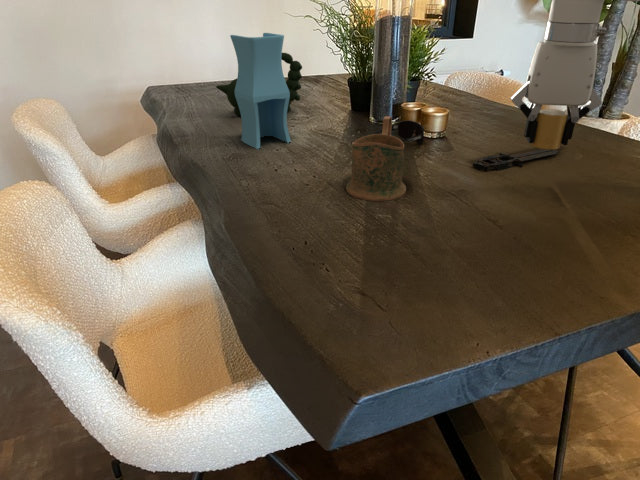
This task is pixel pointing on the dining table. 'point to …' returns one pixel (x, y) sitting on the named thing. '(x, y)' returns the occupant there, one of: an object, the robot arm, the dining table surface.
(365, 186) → the bronze bell
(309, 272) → the dining table surface
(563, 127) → the candle holder
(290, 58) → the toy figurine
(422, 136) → the sunglasses
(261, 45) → the teal arched pillar
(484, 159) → the knife
